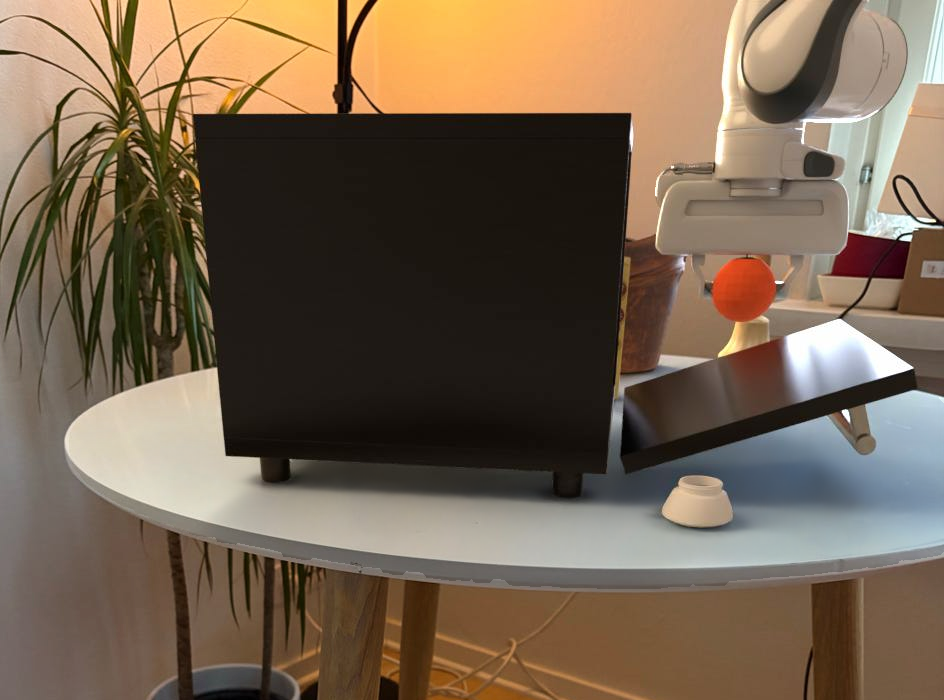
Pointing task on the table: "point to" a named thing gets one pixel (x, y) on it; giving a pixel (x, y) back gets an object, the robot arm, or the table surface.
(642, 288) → the terracotta flower pot
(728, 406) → the oven door
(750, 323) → the hand bell
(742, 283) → the clementine
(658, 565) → the table surface
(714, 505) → the white jar
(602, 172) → the oven
